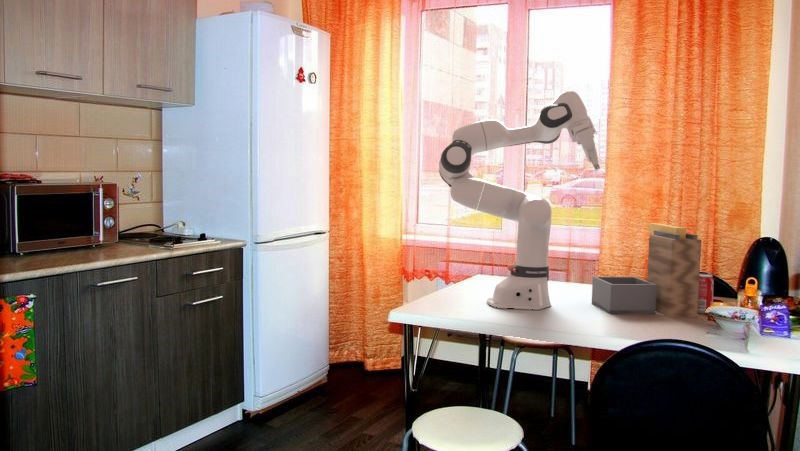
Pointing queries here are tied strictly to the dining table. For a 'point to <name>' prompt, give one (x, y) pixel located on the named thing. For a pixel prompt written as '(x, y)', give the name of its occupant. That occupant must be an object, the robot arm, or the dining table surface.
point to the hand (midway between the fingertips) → (597, 166)
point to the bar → (667, 229)
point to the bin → (624, 295)
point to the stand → (675, 273)
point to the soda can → (705, 292)
